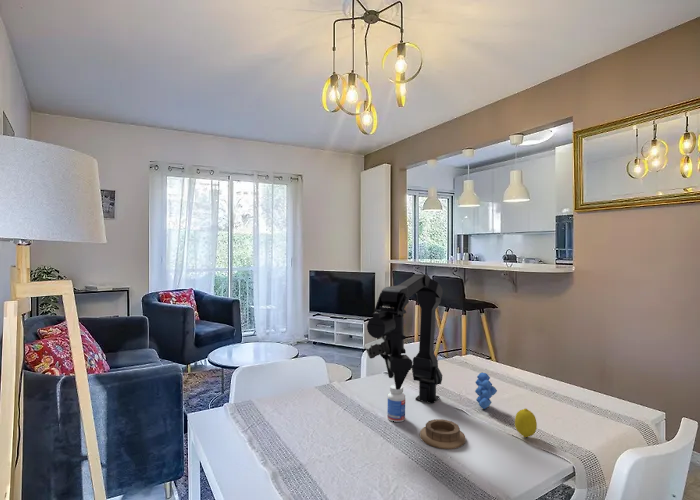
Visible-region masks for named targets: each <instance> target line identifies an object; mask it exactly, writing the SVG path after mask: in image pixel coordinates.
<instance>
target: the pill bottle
mask: <svg viewBox="0 0 700 500" xmlns="http://www.w3.org/2000/svg"><path fill="white" fill-rule="evenodd" d="M386 414H387V420H388V421H389V422H393V421H394V422H393V423H402V422H403V421H405V419H406V395H405V393H404V386H403V385H402V386H401V388H400V389H399V390H397V389H396V387H395V384H391V385H390V386H389V393H388V394H387V412H386Z"/></svg>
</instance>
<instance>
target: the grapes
mask: <svg viewBox="0 0 700 500" xmlns="http://www.w3.org/2000/svg"><path fill="white" fill-rule="evenodd" d="M476 377H477V379H476V381H475V384H476V386H477V388H476V389H475V391H474V392H475V394H476V395H477V398H476V402H477V403H478V406H479V407H480V408H481V409H482V408H483V409H482V410H486V409H487V408H489V407H490V405H491V404H492V400H491V398H492V397H493V396H494V395H495V394H497V392H498V390H497V388H496V387H495V386H493V383H492V382H491V380H490V379H491V377H490V376H489V374H488V373H486V372H480V373H479V374H478V375H477V376H476Z"/></svg>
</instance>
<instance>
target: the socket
mask: <svg viewBox="0 0 700 500" xmlns="http://www.w3.org/2000/svg"><path fill="white" fill-rule="evenodd" d="M419 433H420V434H419V437H420V438H419V439H421V441H422V442H423V443H425V444H426V445H427V446H430V447H433V448H436V449H439V450H440V449H441V450H453V449H454V450H455V449H458V448H462V447H463V446H464V445H465V444H466V435H465V433H464V432H463V431H462V430H461V428H460V426H459V424H457V423H456V422H454V421H451V420H447V419H443V418H442V419H440V418H438V419H437V418H436V419H430V420H428V421H427V422H426V423H425V426H424V427H422V428H421V429H420V432H419Z"/></svg>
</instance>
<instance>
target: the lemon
mask: <svg viewBox="0 0 700 500" xmlns="http://www.w3.org/2000/svg"><path fill="white" fill-rule="evenodd" d="M514 418H515V419H514V426H515V428H516V431H517V433H518V434H519V435H520V436H523V437H524V438H525V437H527V438H528V437H531V436H533V435H535V433H536V431H537V427H538V422H537V417H536V416H535V414H534V413H533V412H532V411H531V410H529V409H528V408H523V409H520V410H518V411H517V412H516V414H515V417H514Z"/></svg>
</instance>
